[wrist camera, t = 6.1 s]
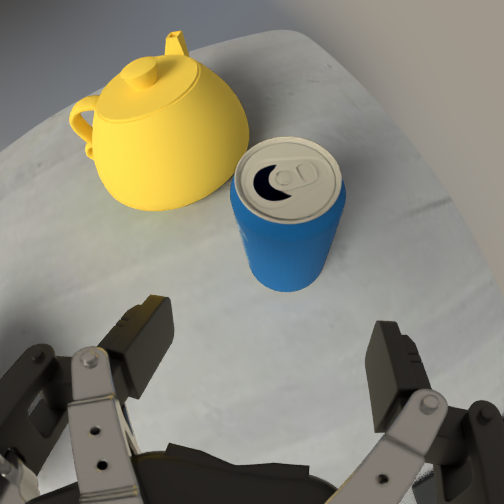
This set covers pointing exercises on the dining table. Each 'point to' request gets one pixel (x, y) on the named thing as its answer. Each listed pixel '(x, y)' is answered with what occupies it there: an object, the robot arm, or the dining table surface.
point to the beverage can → (287, 209)
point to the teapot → (164, 130)
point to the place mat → (426, 490)
